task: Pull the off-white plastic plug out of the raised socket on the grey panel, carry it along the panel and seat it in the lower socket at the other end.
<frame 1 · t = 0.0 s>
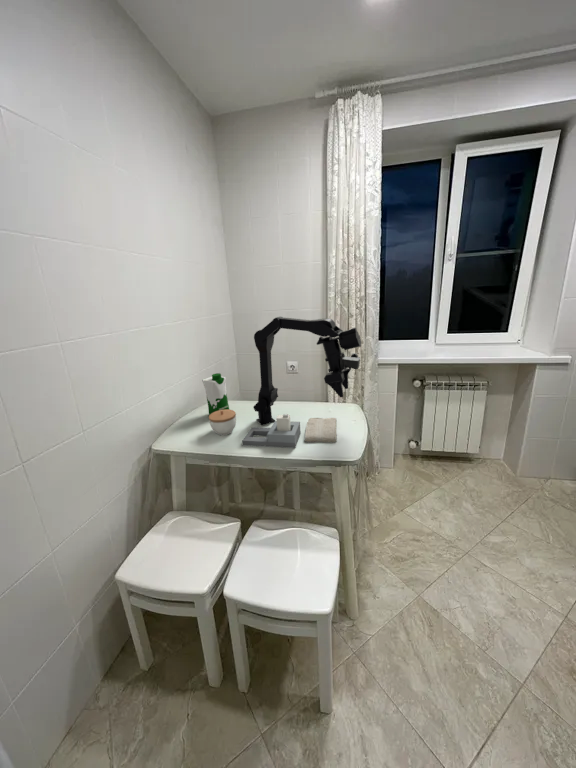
hand: (344, 392, 110), 15 cm above the table, tool pointing down, fingers open, 9 cm apart
lidded jar: (224, 432, 121), on the table
socket panel: (272, 439, 112), on the table
milk carton: (219, 415, 138), on the table
plug: (284, 432, 110), point 3 cm above the table, touching socket panel
washcloth: (321, 432, 115), on the table
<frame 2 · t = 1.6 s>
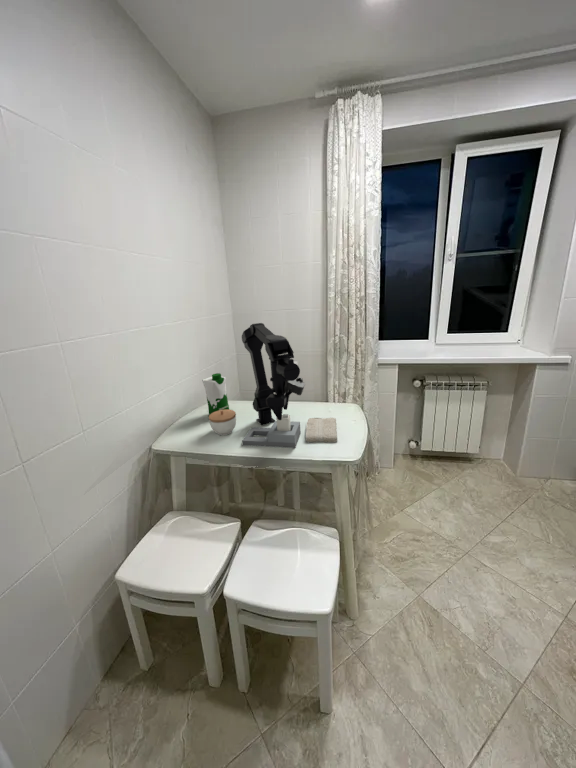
hand: (282, 414, 108), 10 cm above the table, tool pointing down, fingers open, 9 cm apart
nothing on the table moved.
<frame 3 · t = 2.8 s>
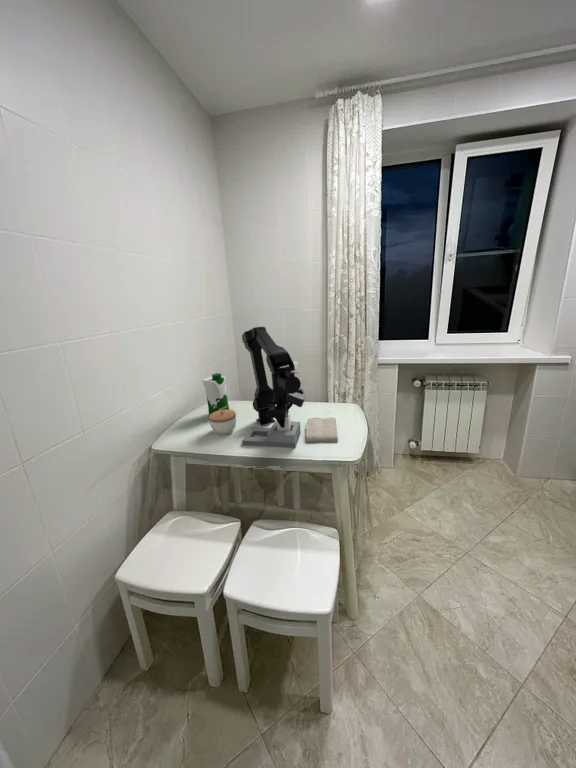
hand: (283, 425, 109), 6 cm above the table, tool pointing down, fingers closed on plug, 3 cm apart
plug: (284, 432, 110), point 3 cm above the table, touching gripper, socket panel
everything else where it was.
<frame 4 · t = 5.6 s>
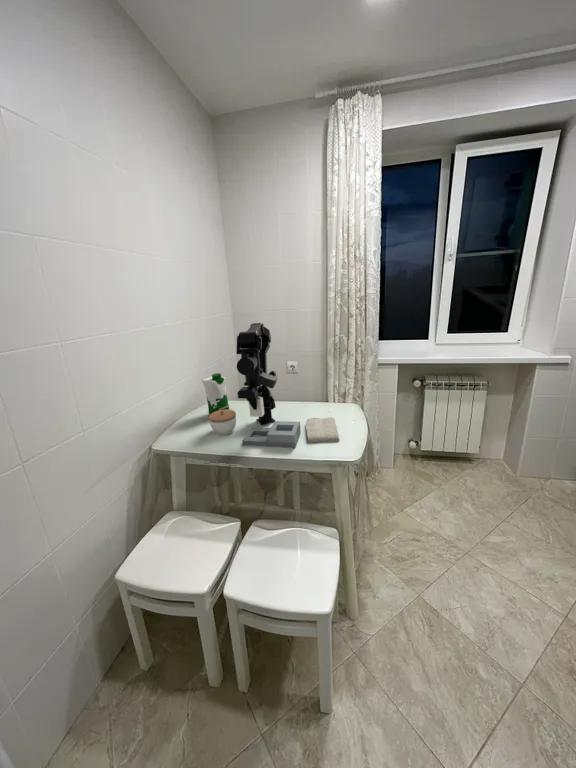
hand: (256, 407, 109), 13 cm above the table, tool pointing down, fingers closed on plug, 3 cm apart
plug: (257, 414, 110), point 10 cm above the table, touching gripper
everything else where it was.
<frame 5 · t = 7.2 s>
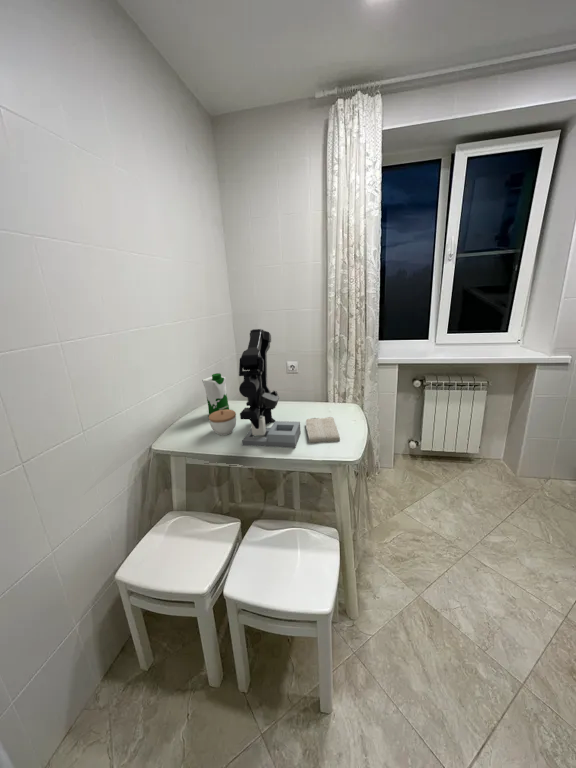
hand: (258, 426, 111), 5 cm above the table, tool pointing down, fingers closed on plug, 3 cm apart
plug: (259, 433, 112), point 2 cm above the table, touching gripper
everything else where it was.
when the fingers open (4 cm above the table, at t = 8.3 s): plug stays where it is, resting in socket panel.
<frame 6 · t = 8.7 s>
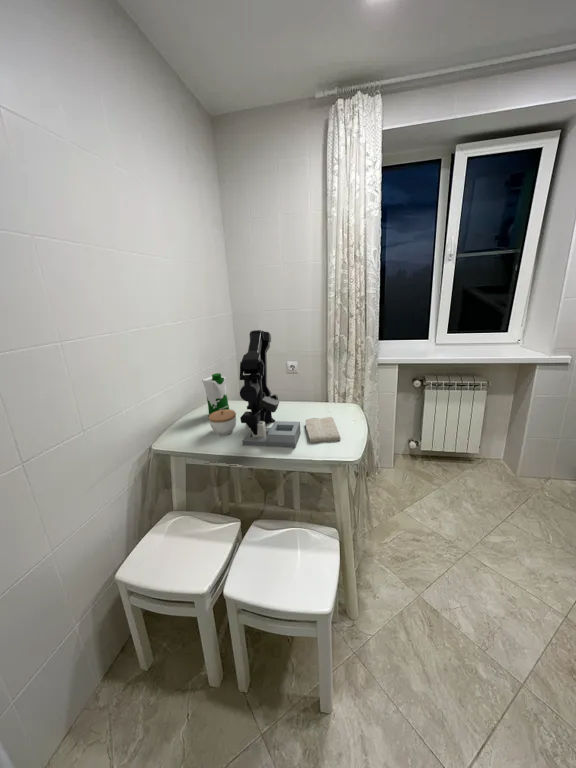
hand: (259, 430, 112), 4 cm above the table, tool pointing down, fingers open, 7 cm apart
plug: (260, 438, 113), resting in socket panel
everything else where it was.
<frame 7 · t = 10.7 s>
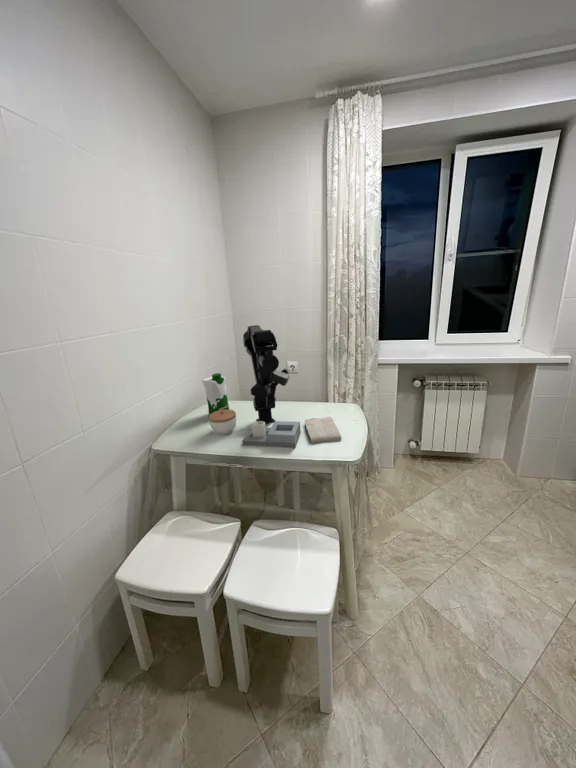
hand: (269, 404, 112), 13 cm above the table, tool pointing down, fingers open, 9 cm apart
nothing on the table moved.
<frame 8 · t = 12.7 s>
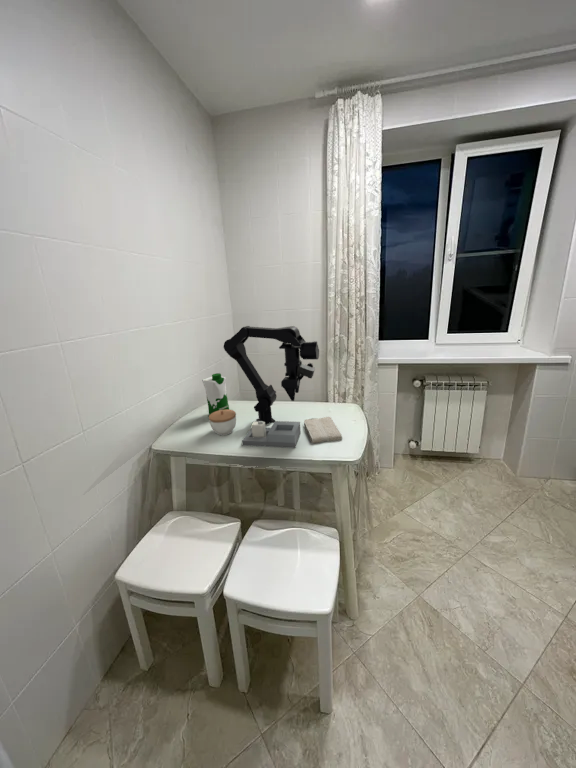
hand: (295, 396, 120), 12 cm above the table, tool pointing down, fingers open, 9 cm apart
at the end: plug 0.0 cm from the target spot on the socket panel, point 0.0 cm above the socket panel's base; plug tilted 0°; the gripper is holding nothing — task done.
